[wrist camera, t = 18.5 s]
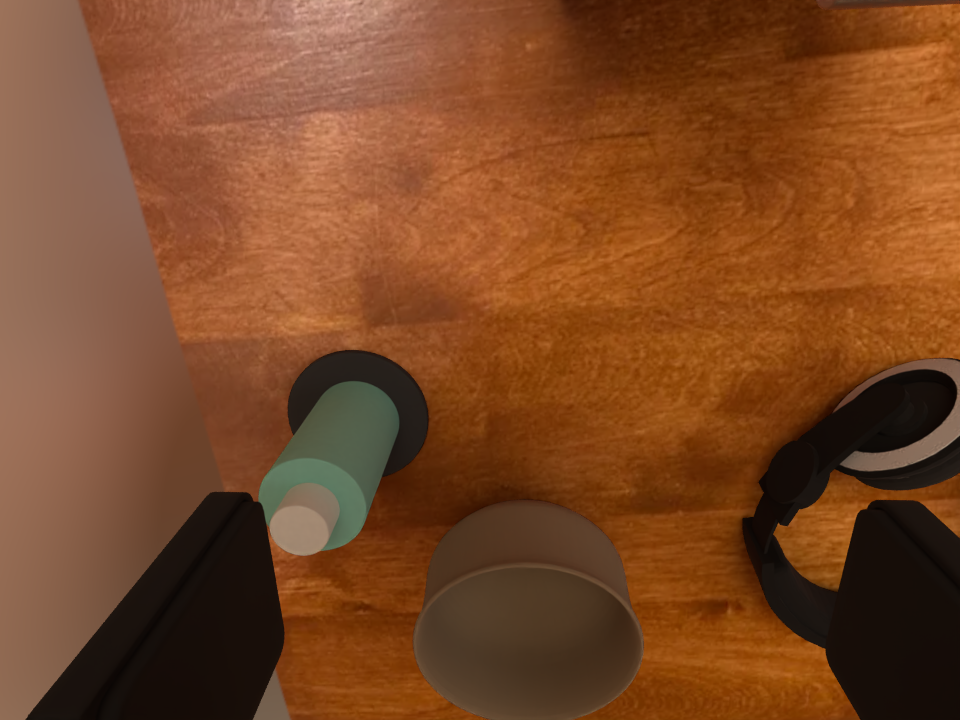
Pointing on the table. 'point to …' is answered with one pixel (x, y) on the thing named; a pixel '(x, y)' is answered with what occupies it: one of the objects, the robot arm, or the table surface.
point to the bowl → (527, 615)
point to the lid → (878, 3)
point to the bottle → (330, 470)
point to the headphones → (854, 471)
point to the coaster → (377, 374)
